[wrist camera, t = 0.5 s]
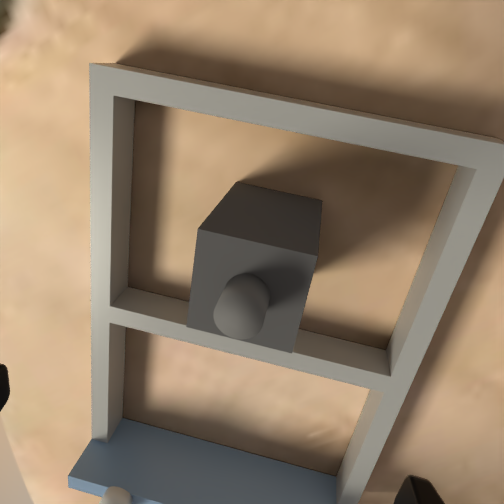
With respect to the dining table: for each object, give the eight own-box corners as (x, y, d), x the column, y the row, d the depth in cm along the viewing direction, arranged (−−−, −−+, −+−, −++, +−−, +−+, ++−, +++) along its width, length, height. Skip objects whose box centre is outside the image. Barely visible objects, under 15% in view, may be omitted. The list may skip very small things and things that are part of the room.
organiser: (346, 494, 26) (349, 595, 21) (107, 427, 27) (58, 507, 22) (496, 138, 16) (568, 170, 11) (114, 63, 18) (29, 62, 13)
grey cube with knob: (302, 276, 20) (287, 382, 14) (224, 258, 21) (171, 352, 14) (322, 200, 19) (316, 278, 12) (236, 181, 19) (182, 246, 12)
